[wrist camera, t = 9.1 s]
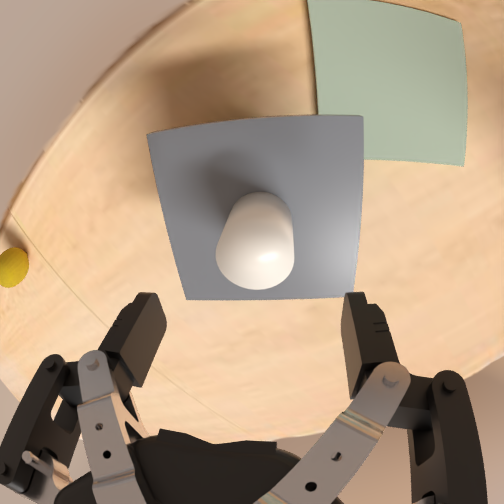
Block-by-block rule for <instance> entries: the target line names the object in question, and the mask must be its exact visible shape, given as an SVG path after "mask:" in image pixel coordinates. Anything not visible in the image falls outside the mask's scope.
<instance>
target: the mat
mask: <svg viewBox="0 0 504 504" xmlns="http://www.w3.org/2000/svg"><path fill="white" fill-rule="evenodd" d="M307 5H308V12H309V19H310V27H311V36H312V45H313V55H314V66H315V78H316V91H317V107H318V114H334V115H360V116H363V117H364V159H369V160H393V161H410V162H423V163H435V164H445V165H454V166H463V167H464V161H465V150H466V137H467V109H468V98H467V71H466V58H465V49H464V40H463V33H462V27H461V23H459V22H457V21H454V20H451V19H448V18H445V17H442V16H438V15H435V14H432V13H428V12H424V11H421V10H417V9H413V8H408V7H404V6H399V5H394V4H389V3H384V2H378V1H371V0H307Z"/></svg>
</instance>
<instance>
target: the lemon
mask: <svg viewBox="0 0 504 504" xmlns="http://www.w3.org/2000/svg"><path fill="white" fill-rule="evenodd" d="M28 269H29V260H28V257H27V253H26V252H24V251H23V250H21V249H19V248H16V247H14V248H9V249H7V250H6V251H4V252H3V253H2V254H1V255H0V285H2V286H3V287H6V288H10V287H14V286H16V285H17V284H19V283H20V282H21V281H22V280H23V279H24V278H25V276H26V274H27V272H28Z"/></svg>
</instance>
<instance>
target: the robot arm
mask: <svg viewBox="0 0 504 504" xmlns="http://www.w3.org/2000/svg"><path fill="white" fill-rule="evenodd" d="M116 319H117V320H115V321H114V323H113V326H112V327H111V328H110V330H109V331H108V333H107V335H106V336H105V338H104V340H103V341H102V343H101V345H100V347H99V348H98V350H93V351H90V352H87V353H86V354H84V355H83V356H82V357H81V359H80V360H79V361H76V362H65V360H64V359H63V358H62V357H61V356H60V355H58V354H53V355H50V356H48V357H46V358H45V359H44V360H43V361H42V363H41V365H40V366H39V368H38V370H37V372H36V373H35V375H34V377H33V379H32V381H31V383H30V384H29V386H28V388H27V390H26V392H25V394H24V396H23V398H22V400H21V402H20V404H19V406H18V408H17V410H16V412H15V414H14V416H13V418H12V421H11V423H10V425H9V427H8V429H7V432H6V434H5V437H4V439H3V441H2V444H1V446H0V484H2V485H4V486H6V487H7V488H10V489H11V490H13V491H14V492H15V493H17V494H19V495H21V496H23V497H25V498H27V499H29V500H31V501H34V502H36V503H37V504H344V503H343V502H342V501H341V500H340V499H339V498H338V497H337V496H338V495H339V493H340V492H341V491H342V490H343V489H344V487H345V486H346V485H347V483H348V482H349V481H350V480H351V478H352V477H353V476H354V475H355V473H356V472H357V471H358V469H359V468H360V466H361V465H362V464H363V462H364V461H365V460H366V458H367V457H368V455H369V454H370V452H371V451H372V449H373V448H374V446H375V445H376V443H377V442H378V440H379V439H380V437H381V435H382V434H383V431H384V430H385V428H386V426H390V427H396V428H403V429H407V434H408V443H409V455H410V468H411V491H412V504H488V501H487V488H486V479H485V470H484V463H483V457H482V452H481V446H480V440H479V435H478V431H477V426H476V422H475V418H474V413H473V410H472V406H471V402H470V398H469V395H468V391H467V388H466V385H465V382H464V380H463V378H462V377H461V376H460V375H459V374H458V373H456V372H454V371H451V370H444V371H441V372H439V373H437V374H436V375H435V377H434V378H427V377H420V376H415V375H412V374H410V373H409V372H408V370H407V369H406V368H405V367H404V366H403V365H401V364H400V363H399V360H398V356H397V353H396V350H395V346H394V343H393V340H392V336H391V333H390V332H389V327H388V324H387V321H386V318H385V315H384V312H383V311H382V310H381V309H380V308H379V306H378V305H377V304H367V300H366V297H365V294H364V292H347V293H345V296H344V304H343V311H342V318H341V335H342V342H343V349H344V355H345V363H346V370H347V378H348V386H349V395H350V399H354V400H353V401H352V403H351V404H350V405H349V407H348V408H347V409H346V410H345V411H344V412H342V413H341V414H340V415H339V416H338V417H337V418H336V419H335V420H334V422H333V423H332V424H331V425H330V427H329V428H328V429H327V430H326V432H325V433H324V434H323V435H322V436H321V438H320V439H319V440H318V441H317V442H316V443H315V445H314V446H313V447H312V448H311V449H310V450H309V451H308V453H307V454H306V455H305V456H304V457H303V458H302V459H301V458H300V457H298V456H296V455H294V454H292V453H290V452H288V451H285V450H282V449H278V448H277V442H267V441H247V440H245V441H238V442H231V443H222V444H211V443H209V442H206V441H203V440H201V439H198V438H196V437H193V436H191V435H189V434H186V433H181V432H175V431H170V430H165V429H160V430H159V433H158V435H155V436H149V434H148V433H147V431H146V429H145V428H144V426H143V423H142V421H141V418H140V415H139V413H138V410H137V407H136V404H135V401H134V398H133V395H132V393H131V392H130V390H131V387H132V386H136V387H141V388H142V386H143V383H144V381H145V378H146V376H147V373H148V371H149V369H150V366H151V364H152V362H153V359H154V357H155V354H156V352H157V350H158V347H159V345H160V343H161V340H162V338H163V336H164V334H165V331H166V327H167V321H166V317H165V314H164V312H163V309H162V306H161V303H160V301H159V298H158V295H157V294H156V293H146V292H140V293H138V294H137V296H136V298H135V299H134V301H133V302H132V303H129V304H128V305H127V306H126V307H124V308H123V309H122V310H121V312H120V313H119V315H118V316H117V318H116ZM58 395H59V396H60V397H61V398H62V399H63V400H62V403H61V405H60V407H59V409H58V412H57V414H56V416H55V419H54V421H53V420H52V418H51V410H52V408H53V406H54V404H55V401H56V399H57V397H58ZM81 433H82V437H83V442H84V446H85V450H86V454H87V458H88V462H89V465H90V469H91V471H90V472H88V473H87V474H85V475H84V476H82V477H80V478H78V479H77V480H75V481H74V482H73V480H72V478H71V477H70V475H69V471H68V468H69V465H70V462H71V459H72V456H73V453H74V450H75V448H76V445H77V442H78V439H79V436H80V434H81Z"/></svg>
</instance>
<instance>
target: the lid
mask: <svg viewBox="0 0 504 504" xmlns="http://www.w3.org/2000/svg"><path fill="white" fill-rule="evenodd" d="M147 139H148V145H149V150H150V155H151V161H152V166H153V171H154V175H155V180H156V185H157V189H158V194H159V198H160V203H161V207H162V211H163V215H164V220H165V224H166V228H167V232H168V236H169V240H170V243H171V247H172V251H173V255H174V258H175V262H176V266H177V269H178V273H179V276H180V280H181V283H182V287H183V290H184V294H185V297H186V300H283V299H314V298H337V297H344V296H345V293H347V292H353V290H354V283H355V275H356V267H357V258H358V248H359V238H360V226H361V213H362V196H363V170H364V117H363V116H360V115H334V114H317V115H284V116H267V117H254V118H243V119H233V120H224V121H216V122H209V123H202V124H195V125H189V126H183V127H177V128H171V129H166V130H161V131H156V132H152V133H149V134H147Z"/></svg>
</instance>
